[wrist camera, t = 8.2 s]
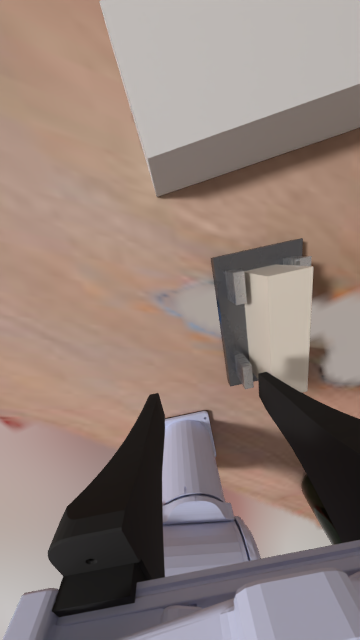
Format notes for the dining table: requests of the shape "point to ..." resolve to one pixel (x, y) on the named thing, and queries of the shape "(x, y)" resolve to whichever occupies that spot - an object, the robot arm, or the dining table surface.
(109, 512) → the robot arm
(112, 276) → the dining table surface
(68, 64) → the dining table surface
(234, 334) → the rack
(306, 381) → the cream rectangular block
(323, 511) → the dark green wine bottle
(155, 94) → the long grey wedge ramp
